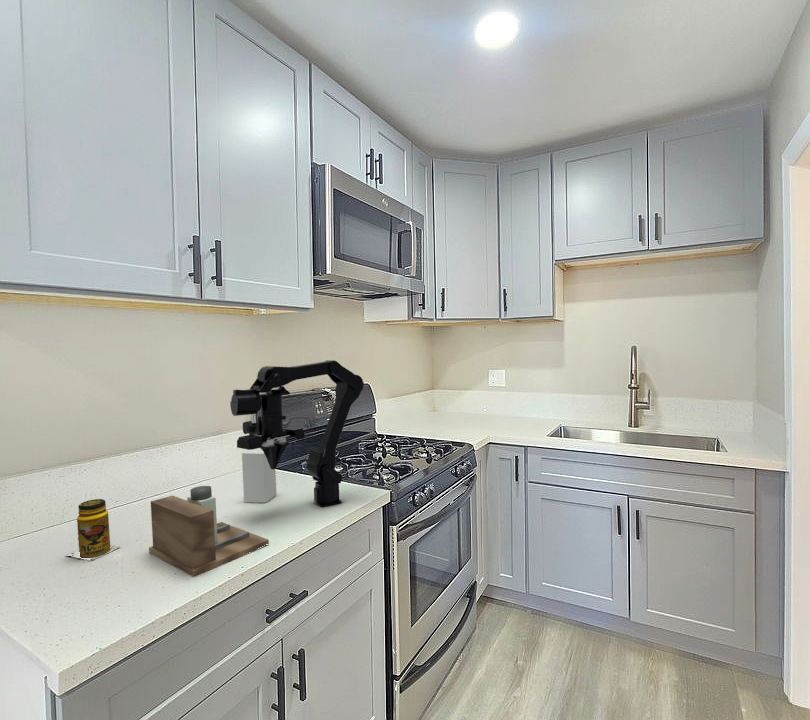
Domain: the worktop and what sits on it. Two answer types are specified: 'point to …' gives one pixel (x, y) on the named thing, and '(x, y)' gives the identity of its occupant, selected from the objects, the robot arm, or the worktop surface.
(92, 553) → the condiment
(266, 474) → the milk carton
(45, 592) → the worktop surface
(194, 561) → the knob mount
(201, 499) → the pale green capped bottle
